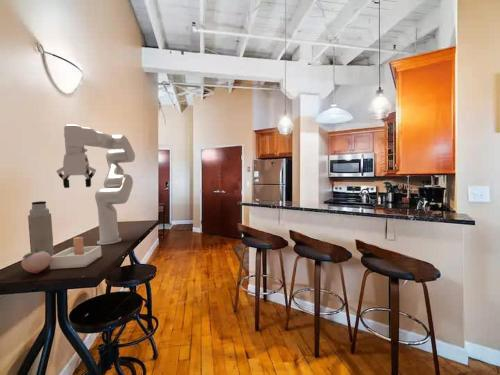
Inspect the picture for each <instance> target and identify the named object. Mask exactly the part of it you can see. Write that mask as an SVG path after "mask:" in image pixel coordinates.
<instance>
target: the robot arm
mask: <svg viewBox="0 0 500 375" xmlns="http://www.w3.org/2000/svg"><path fill="white" fill-rule="evenodd" d="M63 132H64V133H63V138H64V145H65V147H64V148H65V154H63V155H64V156H63V161H62V162H63V163H62V164H63V166H62V167H60V168H59V169H57V170H56V173H57V174H58V177H59V178H61V180H62V183H63V187H64V189H69V188H70V180H69V178H70V176H84V177H85V179H84V181H85V187H86V188H91V186H92V179H93V177H94V176H95V174H96V172H97V169H95V168H94V167H91V166H90V162H89V158H88V155H87V154H86V153H87V152H88V149H87V148H85V147H96V148H100V149H105V150H106V149H107V152H106V153H105V158H106V162H107V165H108V171H107V174H106V176H105V179H104V180H103V187H102V188H99V189H97V190H96V191H95V193H94V197H95V202H96V207H97V216H98V229H99V230H98V231H99V240H97V241H96V244H97V245H98V246H102V245H103V246H104V245H113V244H116V243H117V244H118V243H120V242H121V241H122V238H121V237H119V236H120V232H119V229H118V228H119V227H118V212H117V211H118V210H117V209H116V207H115V206H114V205H124V204H126V203H127V202H128V200H129V198H130V195H131V192H132V189H133V184H134V181H133V177H132V176H131V175H130V174H128V173H127V174H126V173H125V172H124V169H123V167H122V166H121V165H119V164H121V163H122V164H123V163H126V164H127V163H132V162H134V161H135V159H136V154H135V151H134V148H133V147H132V145H131V142H130V141H129V139H128V137H127V136H125V135H124V134H109V133H105V132H101V131H97V130H95V129H94V128H92V127H85V126H81V125H78V124H66V125H65V126H64V127H63Z"/></svg>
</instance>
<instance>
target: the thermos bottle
mask: <svg viewBox="0 0 500 375" xmlns="http://www.w3.org/2000/svg"><path fill="white" fill-rule="evenodd" d="M28 213H29V215H27V222H28V234H29V235H28V236H29V247H30V252H36V249H37V251H38V250H47V251H48V252H47V251H45V252H47V253H49V254H50V256H53V255H55V249H54V236H53V235H54V234H53V221H52V213H50V209H49V208H48V207H47V201H33V202H31V209H29V212H28ZM48 267H50V264H49V265H48Z"/></svg>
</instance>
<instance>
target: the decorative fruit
mask: <svg viewBox="0 0 500 375" xmlns="http://www.w3.org/2000/svg"><path fill="white" fill-rule="evenodd" d="M45 251H47V250H38V251H37V249H36V252H31V251H30V252H27V253H26V254H24V255H23V256H22V260H21V267H22V268H23V269H24V271H26V272H28V273H31V274H39V273H40V272H42V271H44V270H45V269H47V268H48V267H49V266H50V265H49V264H50V261H51V256H50V254H49V253H47V252H48V251H47V252H45ZM48 265H49V266H48Z"/></svg>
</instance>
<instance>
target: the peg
mask: <svg viewBox="0 0 500 375" xmlns="http://www.w3.org/2000/svg"><path fill="white" fill-rule="evenodd" d="M72 241H73V247H74V255H84V247H85V246H84V237H83V236H78V237H73V240H72Z"/></svg>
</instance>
